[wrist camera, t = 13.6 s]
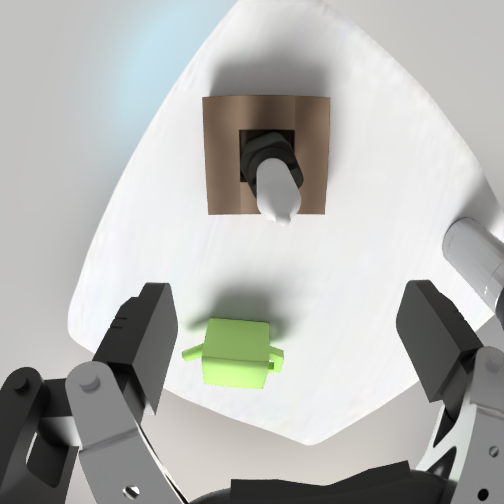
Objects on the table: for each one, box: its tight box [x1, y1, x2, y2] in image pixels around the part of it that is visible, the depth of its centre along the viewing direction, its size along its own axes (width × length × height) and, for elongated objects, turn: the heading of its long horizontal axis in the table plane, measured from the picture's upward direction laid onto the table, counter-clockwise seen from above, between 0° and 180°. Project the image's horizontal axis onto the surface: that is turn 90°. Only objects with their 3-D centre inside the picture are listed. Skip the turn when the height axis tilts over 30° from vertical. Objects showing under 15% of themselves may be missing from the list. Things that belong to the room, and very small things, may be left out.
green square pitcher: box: [182, 318, 284, 389], centre depth 51 cm, size 18×10×10 cm, turn 86°
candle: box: [240, 130, 304, 226], centre depth 28 cm, size 5×5×25 cm
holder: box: [202, 95, 330, 215], centre depth 37 cm, size 15×15×5 cm
